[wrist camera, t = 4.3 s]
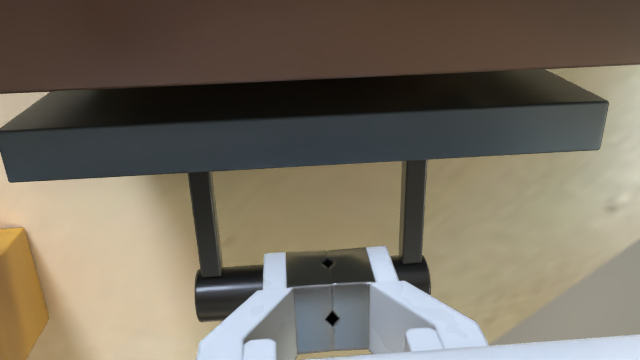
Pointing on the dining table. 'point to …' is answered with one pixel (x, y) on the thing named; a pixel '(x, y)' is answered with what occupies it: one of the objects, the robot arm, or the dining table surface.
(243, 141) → the drawer
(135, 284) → the dining table surface
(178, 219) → the dining table surface
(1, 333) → the block
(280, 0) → the cabinet
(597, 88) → the dining table surface
